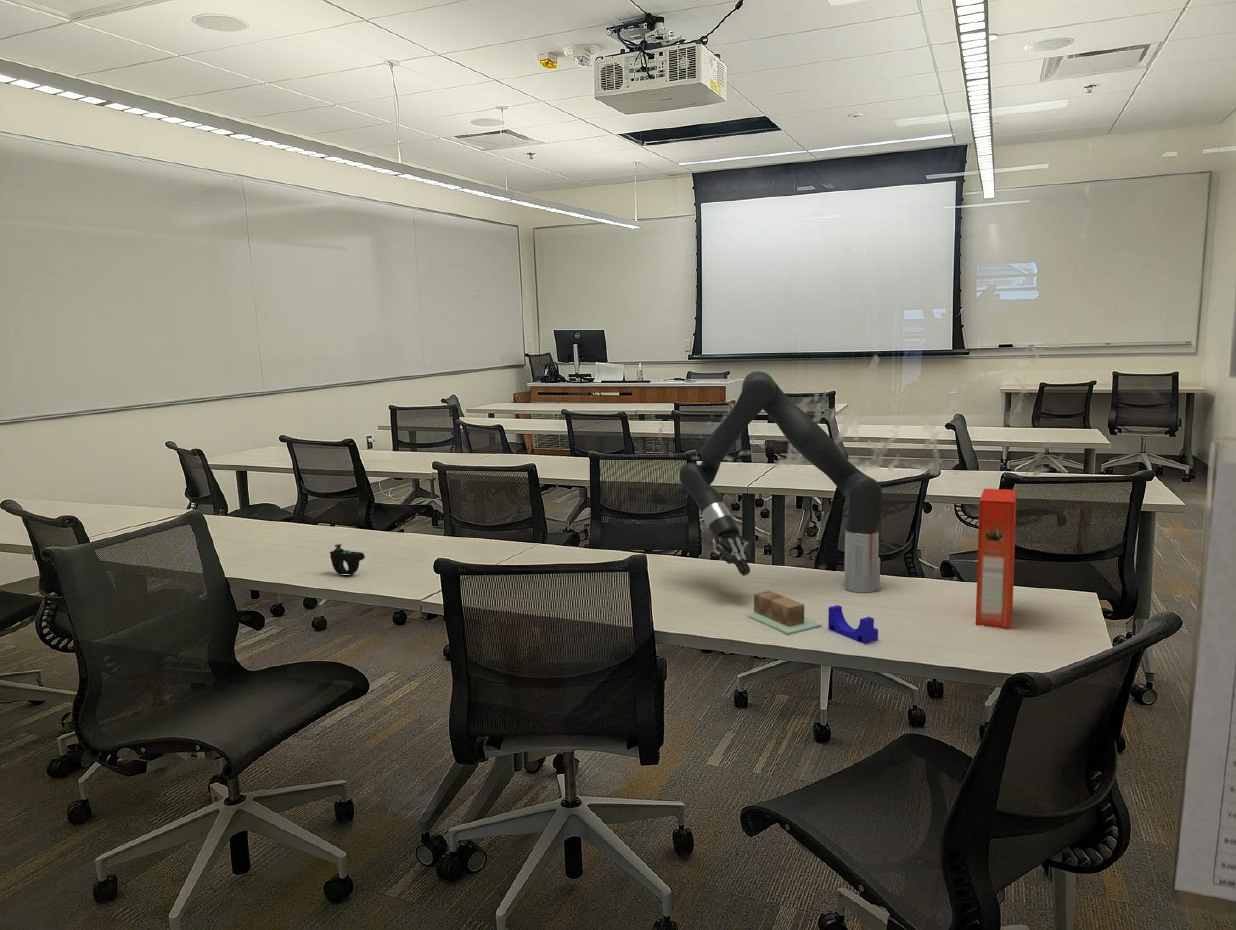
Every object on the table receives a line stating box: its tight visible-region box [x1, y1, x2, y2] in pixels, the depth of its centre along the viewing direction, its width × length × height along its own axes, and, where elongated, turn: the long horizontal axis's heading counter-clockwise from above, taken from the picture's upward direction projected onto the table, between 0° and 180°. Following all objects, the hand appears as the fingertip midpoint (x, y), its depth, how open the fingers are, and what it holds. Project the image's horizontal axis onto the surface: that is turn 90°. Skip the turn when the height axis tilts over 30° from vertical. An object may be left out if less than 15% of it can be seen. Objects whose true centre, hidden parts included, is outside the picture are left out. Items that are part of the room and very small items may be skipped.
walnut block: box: [753, 590, 805, 627], centre depth 209 cm, size 5×5×14 cm
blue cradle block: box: [827, 604, 879, 645], centre depth 197 cm, size 12×4×6 cm, turn 29°
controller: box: [329, 543, 366, 575], centre depth 261 cm, size 4×12×10 cm, turn 67°
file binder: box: [975, 488, 1018, 630], centre depth 205 cm, size 8×17×32 cm, turn 152°
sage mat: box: [747, 612, 823, 636], centre depth 208 cm, size 16×11×1 cm
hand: (746, 573), depth 220 cm, fingers closed
